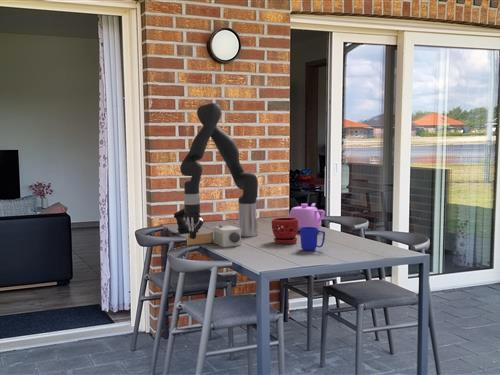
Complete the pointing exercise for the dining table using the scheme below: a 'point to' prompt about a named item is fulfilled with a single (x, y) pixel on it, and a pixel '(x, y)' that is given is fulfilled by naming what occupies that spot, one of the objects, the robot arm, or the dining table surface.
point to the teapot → (307, 216)
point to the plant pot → (285, 230)
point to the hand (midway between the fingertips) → (192, 238)
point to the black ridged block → (181, 228)
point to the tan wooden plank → (200, 239)
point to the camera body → (227, 235)
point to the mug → (310, 238)
